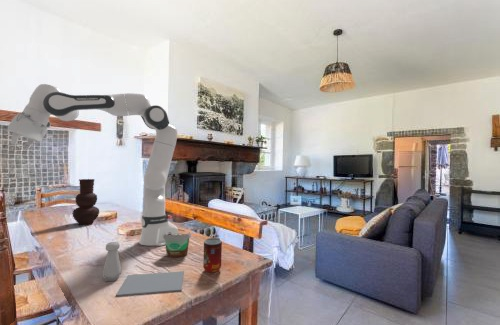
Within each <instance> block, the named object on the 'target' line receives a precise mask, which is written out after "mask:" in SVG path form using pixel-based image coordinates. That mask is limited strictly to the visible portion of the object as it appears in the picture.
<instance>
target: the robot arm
mask: <svg viewBox="0 0 500 325" xmlns="http://www.w3.org/2000/svg"><path fill="white" fill-rule="evenodd" d="M88 110H90V111H91V110H97V111H98V110H99V111H103V112H105V113H108V114H110V115H112V116H114V117H129V116H140V117H141V119H142V120H143V122H144V125H145V126H146V127H147V128H149V129H151V130H155V138H154V141H153V145H152V149H151V152H150V155H149V159H148V162H147V166H146V169H145V173H144V175H143V198H142V200H143V202H142V203H143V204H142V211H143V212H142V216H141V233H140V238H139V241H138V244H139V245H141V246H149V247H150V246H151V247H153V246H158V247H159V246H166V243H165V239H164V235H165V234H166V235H173V234H180V233H179V228H178V227H177V226H176V225H175V224H173V223H172V222H171V221H169V220H172V217H173V216H172V215H170V214H168V215H167V214H166V184H167V182H168V176H169V172H170V169H171V168H170V167H171V164H172V159H173V156H174V152H175V149H176V146H177V139H178V129H177V128H176V127H175V126H173V125H172V124H170V120H169V116H168V113H167V111H166V109H165V108H164V107H162V106H161V105H157V104H156V105H151V103H150V100H149V98H148V97H147V96H146V95H145V94H142V93H117V94H114V93H113V94H102V95H101V94H87V95H84V94H82V95H81V94H78V95H77V94H76V95H73V94H67V93H64V92H61V90H60V88H58V87H56V86H53V85H51V84H46V83H41V84H39V85H38V86H37V87H36V88H35V89H34V91H33V92H32V94H31V95H30V97H29V101H28V103H27V104H26V105H25V107H24V109H23V110H22V112H20V113H18V114H17V115H14V117H13V118H12V119H11V121H10V122H9V124H8V126H7V131H8V132H10V133H12V134H11V140H10V142H9V143H10V144H11V145H12V146H13V145H14V146H17V145H18V143H19V138H20V137H24V138H27V141H26V143H24V144H23V146H22V147H23V149H28V150H29V149H30V147H32V146H33V144H34V143H35V142H41V141H42V140H43V139H44V138H45V135H46V134H47V132H48V129H49V128H51V126H52V124H51V122H50V119H49V118H50V116H54V117H56V119H59V120H61V121H64V122H72V121H75V120H76V119H77V118H78V117H79V111H88Z"/></svg>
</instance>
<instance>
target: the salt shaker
mask: <svg viewBox="0 0 500 325" xmlns="http://www.w3.org/2000/svg"><path fill="white" fill-rule="evenodd" d="M119 248H120V243H119V242H118V241H112V242H111V241H110V242H108V243H107V244H106V245H105V250H106V251H107V254H106V257H105V258H106V259H105V263H104V267H103V272H102V276H103V278H104V281H105V282H114V281H116V280H117V279H119V277H120V275H121V272H122V267H121V262H120V256H119V251H118V250H119Z"/></svg>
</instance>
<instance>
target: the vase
mask: <svg viewBox="0 0 500 325" xmlns="http://www.w3.org/2000/svg"><path fill="white" fill-rule="evenodd" d="M95 180H96V179H94V178H92V179H91V178H88V179H87V178H82V179H78V181H79V183H78V184H79V193H78V194H77V195H76V196H75V197H74V198H75V205H76V206H77V207H76V208H74V209H73V210H72V213H71V214H72V219H74V221H75V222H76V223H77V224H78V225H79V226H88V225H92V224H94V221H95V220H96V219H97V218H98V217H99V214H100V209H99V207H97V206H95V205H96V204H97V201H98V195H97V194H96V193H94V186H95Z"/></svg>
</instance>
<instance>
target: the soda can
mask: <svg viewBox="0 0 500 325" xmlns="http://www.w3.org/2000/svg"><path fill="white" fill-rule="evenodd" d="M222 242H223V241H222V240H221V239H220V238H218V237H209V238H206V239H205V240H204V242H203V269H204V272H205V273H206V274H209V275H212V274H213V275H214V274H218V273H219V272H220V269H221V268H222V253H223V252H222V249H223V248H222V245H223V243H222Z"/></svg>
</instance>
